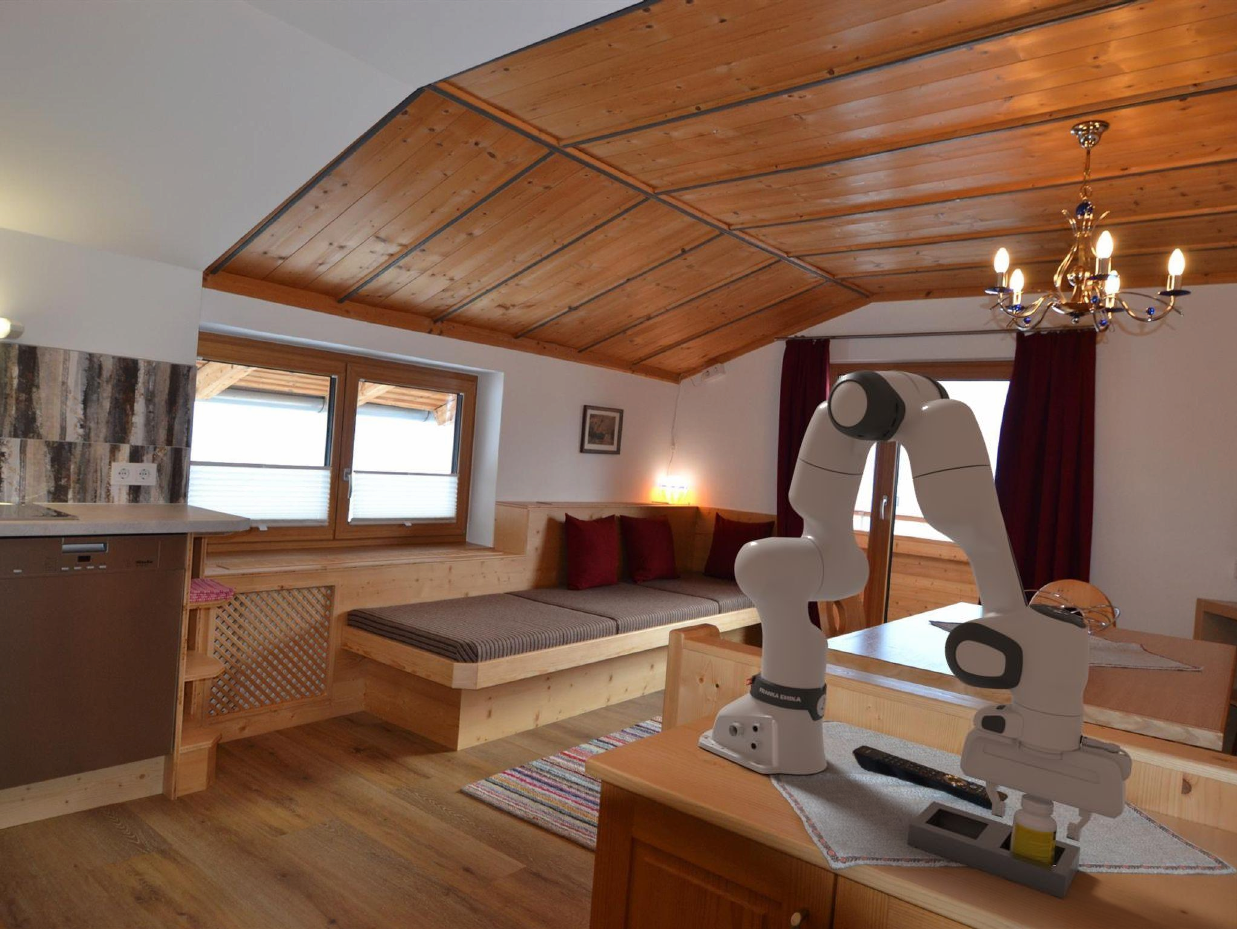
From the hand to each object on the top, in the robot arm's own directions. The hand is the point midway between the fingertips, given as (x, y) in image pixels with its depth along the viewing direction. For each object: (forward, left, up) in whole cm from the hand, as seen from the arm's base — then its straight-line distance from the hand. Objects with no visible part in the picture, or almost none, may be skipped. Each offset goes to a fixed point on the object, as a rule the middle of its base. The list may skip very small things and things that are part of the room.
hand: (1034, 826), depth 119 cm
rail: (-5, 0, -6) cm, 8 cm away
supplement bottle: (0, 0, -6) cm, 6 cm away
